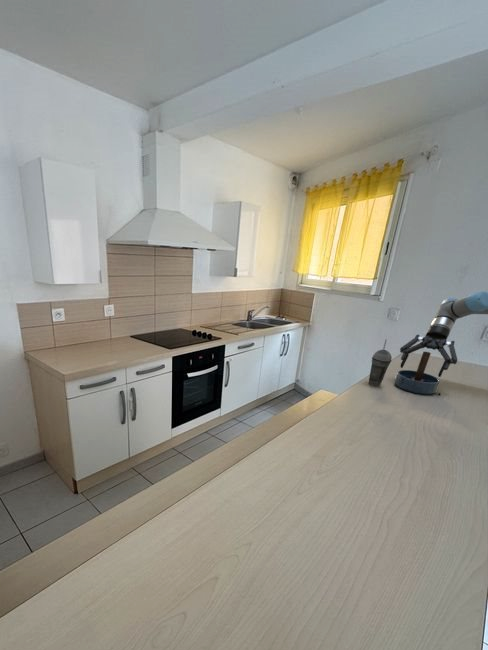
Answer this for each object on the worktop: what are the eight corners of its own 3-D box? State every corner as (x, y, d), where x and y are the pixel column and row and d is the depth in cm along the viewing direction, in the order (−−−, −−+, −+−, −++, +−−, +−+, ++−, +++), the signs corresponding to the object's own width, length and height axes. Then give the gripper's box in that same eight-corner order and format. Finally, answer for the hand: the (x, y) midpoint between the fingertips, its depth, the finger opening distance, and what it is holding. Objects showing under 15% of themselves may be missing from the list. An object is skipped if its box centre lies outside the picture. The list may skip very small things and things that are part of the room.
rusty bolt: (424, 386, 139) (436, 353, 133) (418, 388, 136) (431, 354, 131) (412, 382, 143) (423, 350, 137) (406, 384, 140) (418, 351, 134)
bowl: (438, 389, 139) (443, 377, 137) (431, 398, 129) (436, 386, 127) (399, 378, 149) (402, 367, 147) (389, 386, 139) (393, 375, 137)
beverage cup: (368, 386, 138) (381, 341, 130) (362, 380, 145) (374, 337, 137) (386, 388, 137) (400, 342, 129) (379, 382, 144) (393, 338, 136)
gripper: (474, 341, 133) (455, 383, 129) (406, 330, 149) (387, 367, 145) (478, 330, 128) (458, 374, 124) (406, 319, 144) (387, 358, 140)
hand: (419, 370), depth 134 cm, fingers open, 13 cm apart
